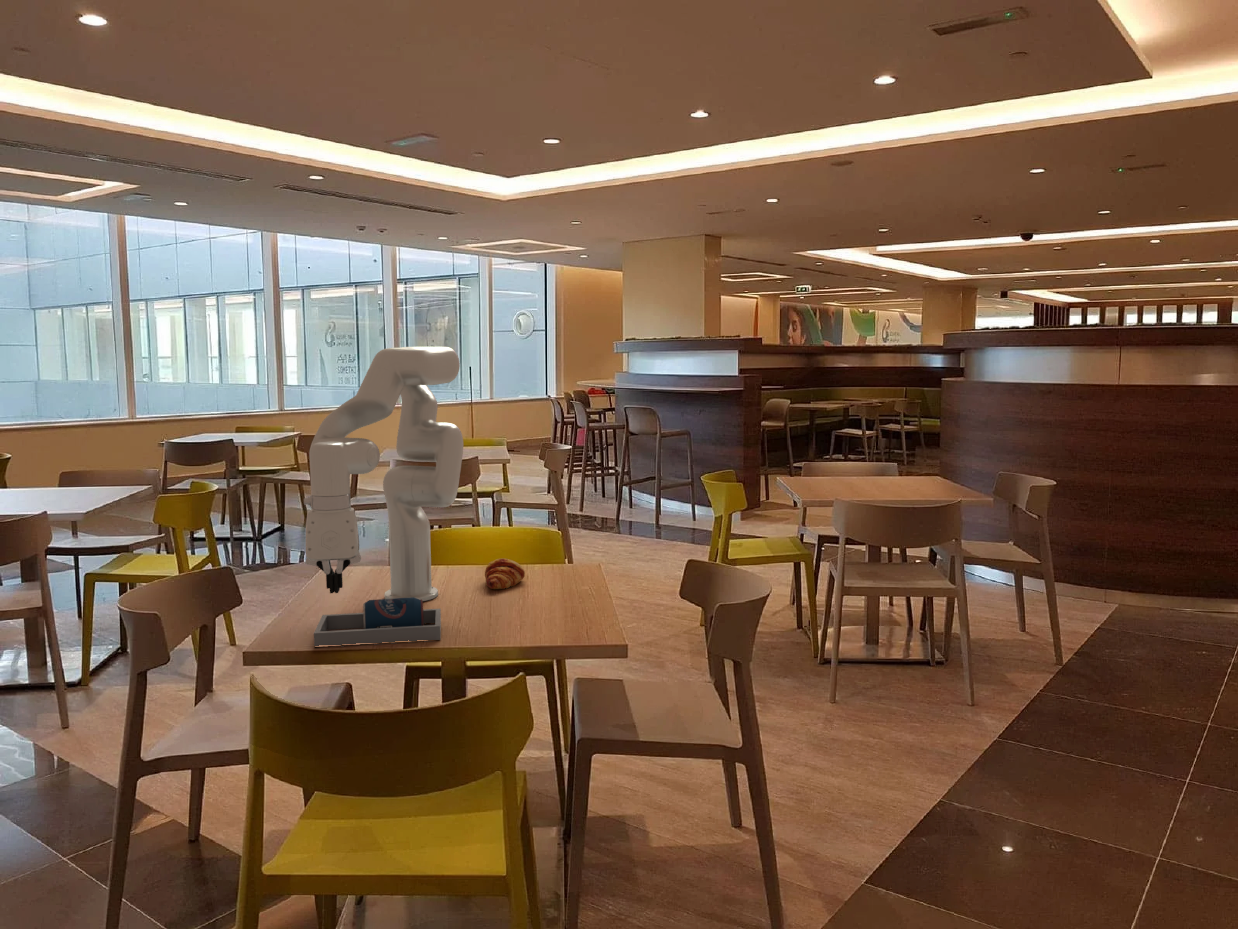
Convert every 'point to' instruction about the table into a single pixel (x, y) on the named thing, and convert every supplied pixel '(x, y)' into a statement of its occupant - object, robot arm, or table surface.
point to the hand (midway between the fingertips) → (334, 591)
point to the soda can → (393, 613)
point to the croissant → (503, 574)
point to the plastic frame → (373, 630)
